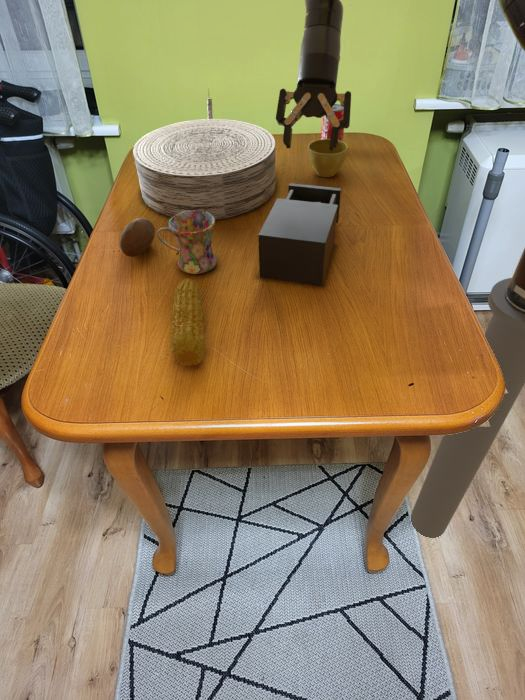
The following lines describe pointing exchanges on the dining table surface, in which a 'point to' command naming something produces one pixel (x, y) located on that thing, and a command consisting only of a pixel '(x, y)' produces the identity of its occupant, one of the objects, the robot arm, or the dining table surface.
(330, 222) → the dark grey cube
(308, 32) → the robot arm
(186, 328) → the food
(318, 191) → the drawer
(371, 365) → the dining table surface
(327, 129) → the soda can
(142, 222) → the potato
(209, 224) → the mug
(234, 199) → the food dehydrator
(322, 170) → the flower pot
